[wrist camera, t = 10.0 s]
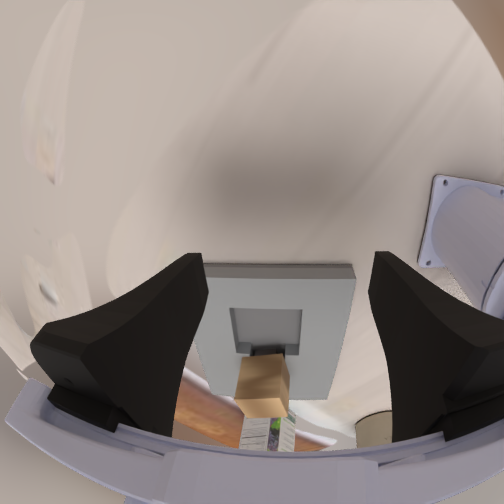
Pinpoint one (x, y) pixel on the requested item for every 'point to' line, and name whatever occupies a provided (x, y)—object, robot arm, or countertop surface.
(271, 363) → the keyhole peg
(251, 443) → the syrup box
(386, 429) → the travel mug
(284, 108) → the countertop surface
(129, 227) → the countertop surface
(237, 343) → the keyhole board
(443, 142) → the countertop surface
